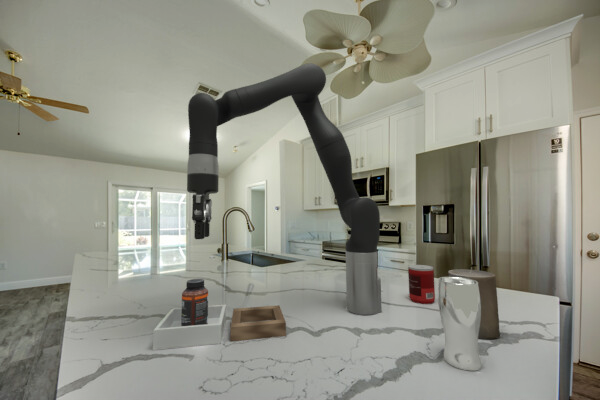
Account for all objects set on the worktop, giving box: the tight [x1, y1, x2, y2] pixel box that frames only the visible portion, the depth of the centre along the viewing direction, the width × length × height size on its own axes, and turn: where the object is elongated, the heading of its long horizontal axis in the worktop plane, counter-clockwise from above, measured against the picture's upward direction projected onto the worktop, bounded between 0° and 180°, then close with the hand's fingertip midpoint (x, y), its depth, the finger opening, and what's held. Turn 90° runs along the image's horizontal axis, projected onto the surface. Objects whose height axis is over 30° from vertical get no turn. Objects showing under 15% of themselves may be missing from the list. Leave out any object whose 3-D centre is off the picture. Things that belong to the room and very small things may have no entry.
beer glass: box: [437, 276, 482, 372], centre depth 49 cm, size 7×7×15 cm
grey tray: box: [152, 304, 227, 351], centre depth 62 cm, size 14×14×4 cm
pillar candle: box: [448, 267, 501, 340], centre depth 63 cm, size 10×10×15 cm
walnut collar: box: [230, 305, 287, 342], centre depth 65 cm, size 12×12×3 cm
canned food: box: [407, 264, 436, 305], centre depth 86 cm, size 8×8×11 cm
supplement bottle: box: [181, 278, 209, 326], centre depth 62 cm, size 6×6×11 cm
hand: (202, 237), depth 65 cm, fingers open, 8 cm apart
